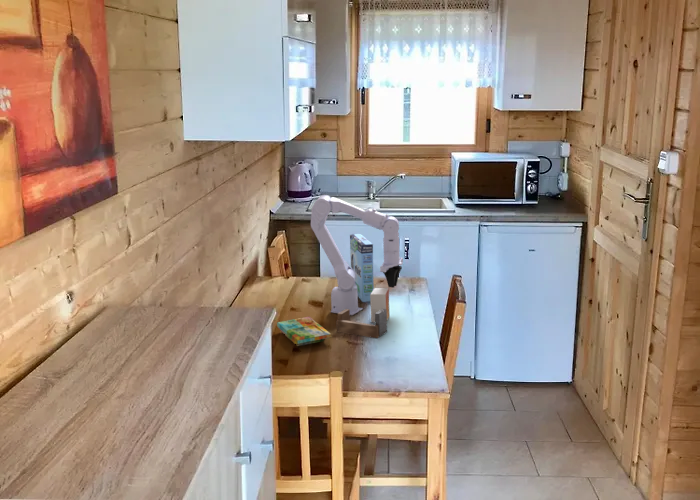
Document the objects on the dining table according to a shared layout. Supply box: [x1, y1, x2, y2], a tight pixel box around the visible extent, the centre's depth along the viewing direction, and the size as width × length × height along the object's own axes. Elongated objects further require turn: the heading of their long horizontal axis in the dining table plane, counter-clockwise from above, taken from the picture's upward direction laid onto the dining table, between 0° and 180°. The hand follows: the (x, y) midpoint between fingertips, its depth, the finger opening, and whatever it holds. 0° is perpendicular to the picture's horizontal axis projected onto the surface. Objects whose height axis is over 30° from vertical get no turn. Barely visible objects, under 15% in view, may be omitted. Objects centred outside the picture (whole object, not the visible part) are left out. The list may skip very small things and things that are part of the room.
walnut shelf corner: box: [335, 309, 380, 339], centre depth 239 cm, size 16×7×6 cm, turn 60°
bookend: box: [374, 309, 388, 338], centre depth 236 cm, size 2×6×8 cm, turn 150°
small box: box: [370, 287, 390, 323], centre depth 250 cm, size 8×6×10 cm
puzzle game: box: [276, 316, 332, 347], centre depth 235 cm, size 12×5×20 cm
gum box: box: [349, 233, 375, 303], centre depth 278 cm, size 20×5×23 cm, turn 13°
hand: (392, 286), depth 257 cm, fingers closed
